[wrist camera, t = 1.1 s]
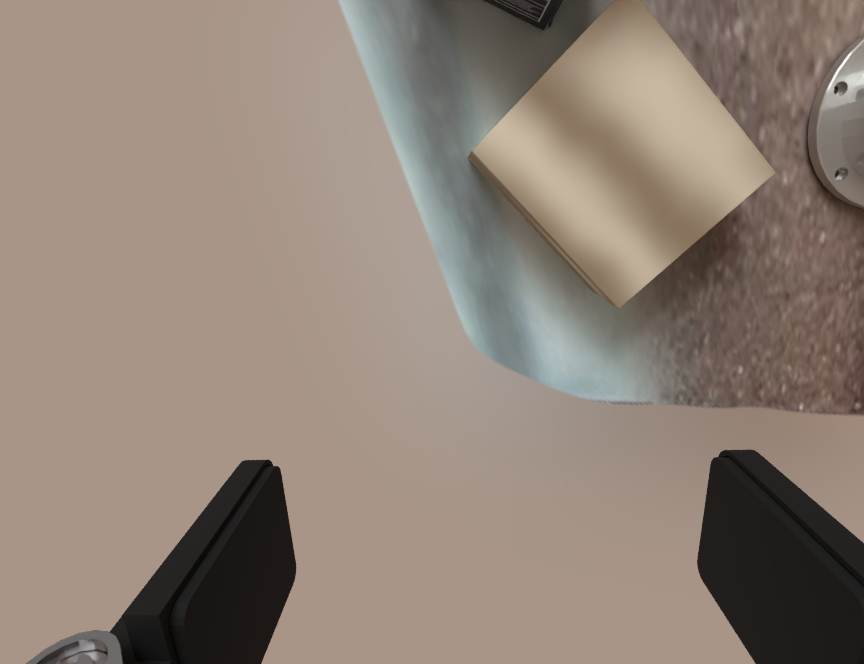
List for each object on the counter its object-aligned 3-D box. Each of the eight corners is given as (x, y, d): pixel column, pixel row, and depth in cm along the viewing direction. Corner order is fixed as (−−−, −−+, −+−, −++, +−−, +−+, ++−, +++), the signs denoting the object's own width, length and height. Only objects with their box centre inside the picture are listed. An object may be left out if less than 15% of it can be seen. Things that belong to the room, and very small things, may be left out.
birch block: (595, 22, 32) (628, -16, 26) (720, 175, 34) (775, 172, 28) (467, 157, 34) (471, 150, 28) (591, 290, 37) (618, 308, 31)
